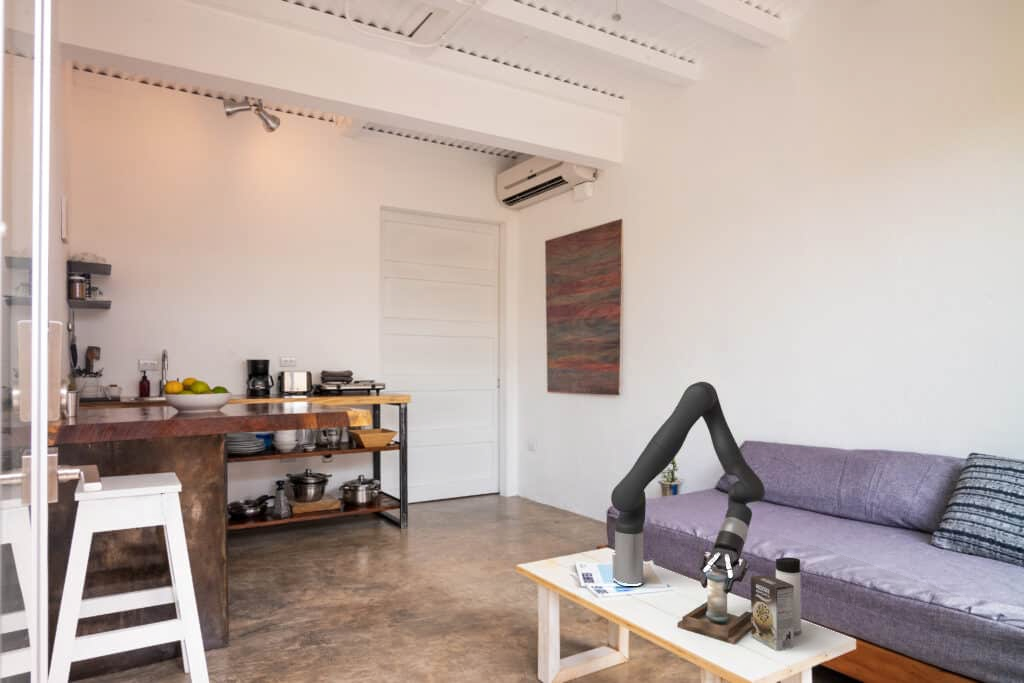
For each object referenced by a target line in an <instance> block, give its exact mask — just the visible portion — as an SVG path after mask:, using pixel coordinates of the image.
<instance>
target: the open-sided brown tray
mask: <svg viewBox="0 0 1024 683" xmlns="http://www.w3.org/2000/svg"><path fill="white" fill-rule="evenodd" d="M707 611H708V600H707V601H706V602H704V603H702V604H701V605H700V606H697V607H696V608H695V609H693V610H691V611H690V612H688V613H686V614H685V615H683V616H682V619H681V620H680V621H678V622H677V628H678V629H682V630H686V631H688V632H692V633H696V634H698V635H702V636H706V637H708V638H711V639H715V640H718V641H721V642H724V643H728V644H731V645H736V644H737V643H738V642H739V641H740V640H742V638H744V637H745V636H747V634H749V633H751V611H747V610H746V611H745V612H743V613H742V614H741V615H735V614H731V613H728V612H727V613H728V614H729V620H728V621H725V622H716V621H712V620H709V619H708V618H707V617H706V612H707Z"/></svg>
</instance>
